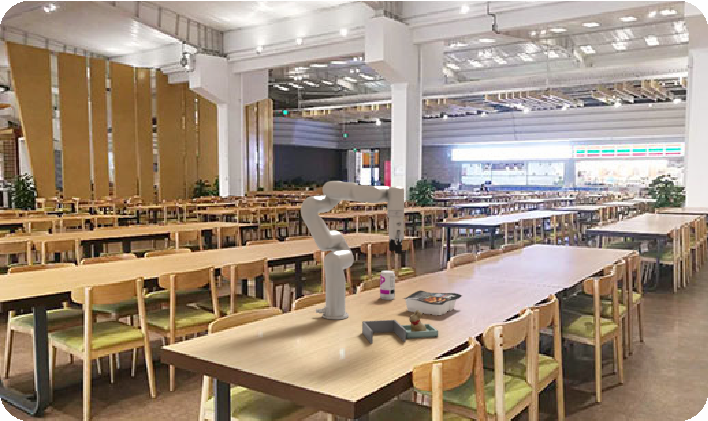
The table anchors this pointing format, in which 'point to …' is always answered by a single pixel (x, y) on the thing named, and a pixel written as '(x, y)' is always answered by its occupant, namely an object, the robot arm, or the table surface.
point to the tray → (421, 332)
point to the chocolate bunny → (417, 322)
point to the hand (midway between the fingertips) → (395, 252)
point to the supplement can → (387, 285)
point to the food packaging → (431, 302)
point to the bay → (382, 328)
